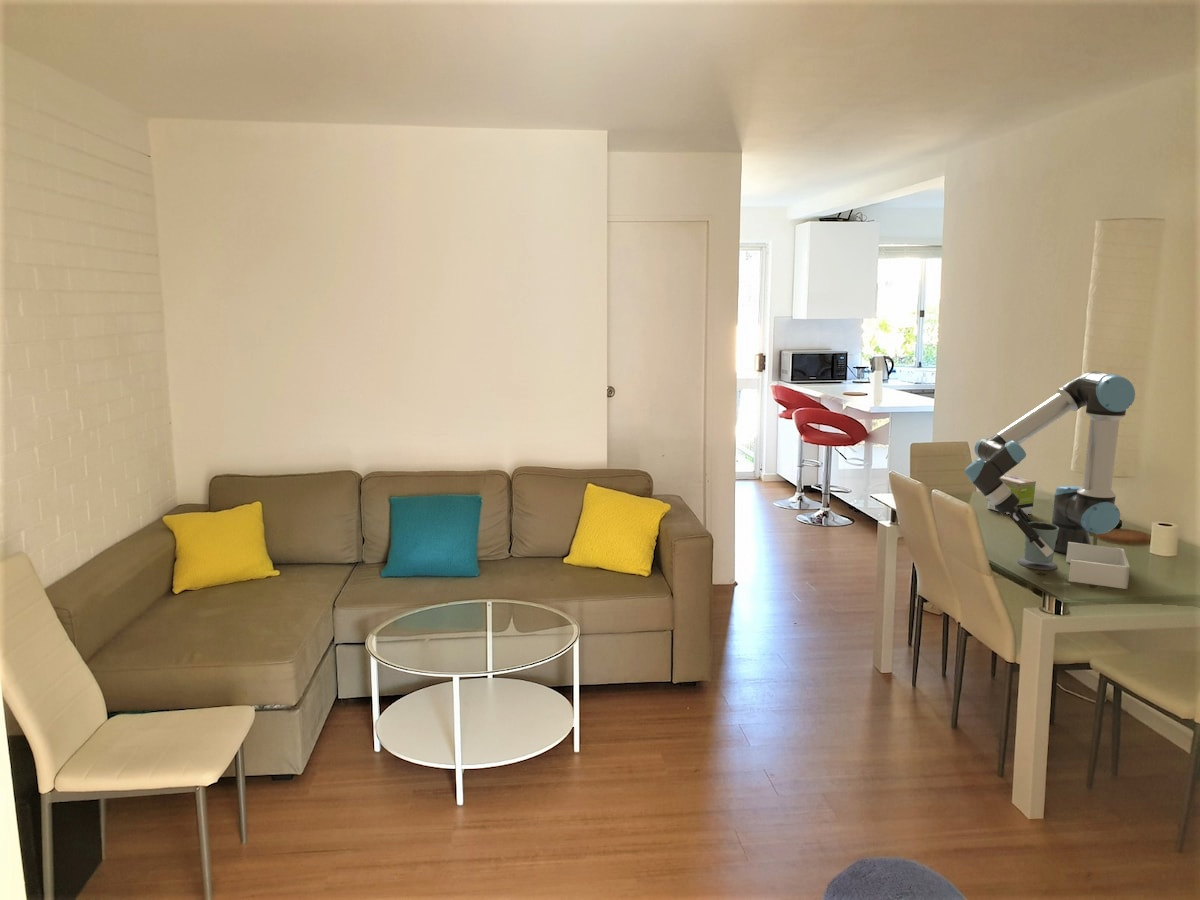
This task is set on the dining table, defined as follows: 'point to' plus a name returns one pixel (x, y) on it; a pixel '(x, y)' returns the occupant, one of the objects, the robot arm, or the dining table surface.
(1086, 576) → the open-front crate
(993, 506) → the tea box
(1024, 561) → the coaster
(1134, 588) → the dining table surface
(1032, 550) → the blue plant pot
